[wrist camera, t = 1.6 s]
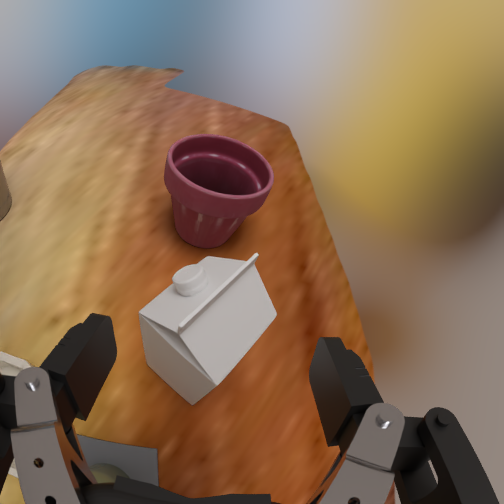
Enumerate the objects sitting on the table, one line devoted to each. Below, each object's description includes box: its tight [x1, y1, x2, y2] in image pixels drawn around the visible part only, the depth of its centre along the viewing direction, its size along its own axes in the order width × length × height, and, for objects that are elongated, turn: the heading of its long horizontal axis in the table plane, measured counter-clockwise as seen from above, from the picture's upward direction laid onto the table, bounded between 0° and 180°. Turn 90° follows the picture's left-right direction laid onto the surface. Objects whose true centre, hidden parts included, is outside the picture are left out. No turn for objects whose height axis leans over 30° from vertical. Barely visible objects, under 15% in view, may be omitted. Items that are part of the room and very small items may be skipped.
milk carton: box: [139, 253, 277, 405], centre depth 23 cm, size 7×7×19 cm
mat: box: [77, 434, 159, 487], centre depth 17 cm, size 11×11×1 cm
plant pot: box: [164, 134, 274, 248], centre depth 39 cm, size 14×14×13 cm
